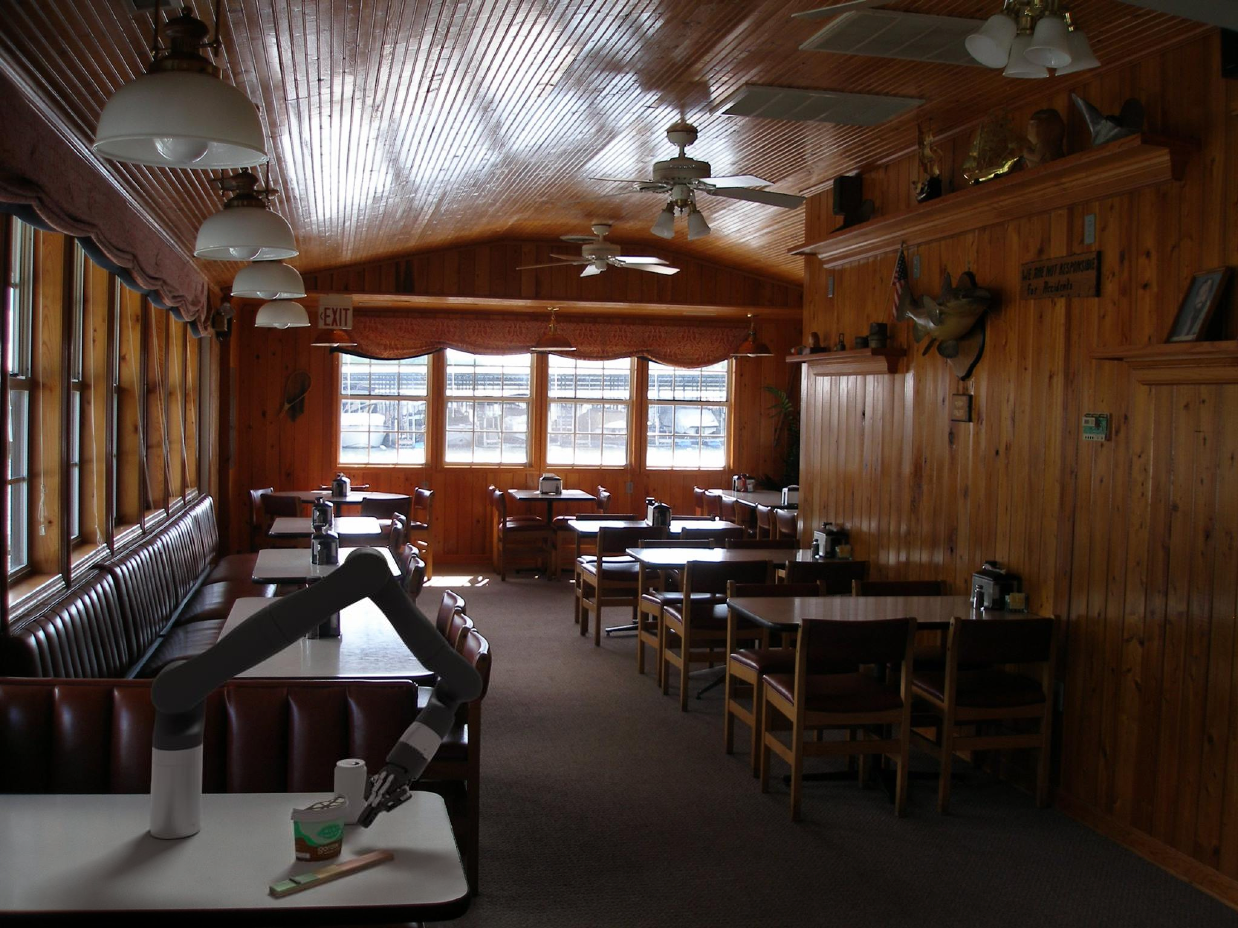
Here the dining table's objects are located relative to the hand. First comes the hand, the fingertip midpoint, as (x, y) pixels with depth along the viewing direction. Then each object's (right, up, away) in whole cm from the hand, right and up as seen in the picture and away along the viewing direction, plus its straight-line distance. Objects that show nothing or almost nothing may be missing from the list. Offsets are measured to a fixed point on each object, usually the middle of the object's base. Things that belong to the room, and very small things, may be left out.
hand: (361, 825), depth 207 cm
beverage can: (-6, -4, +13) cm, 15 cm away
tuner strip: (-1, -4, -14) cm, 15 cm away
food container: (-5, -4, -6) cm, 9 cm away
